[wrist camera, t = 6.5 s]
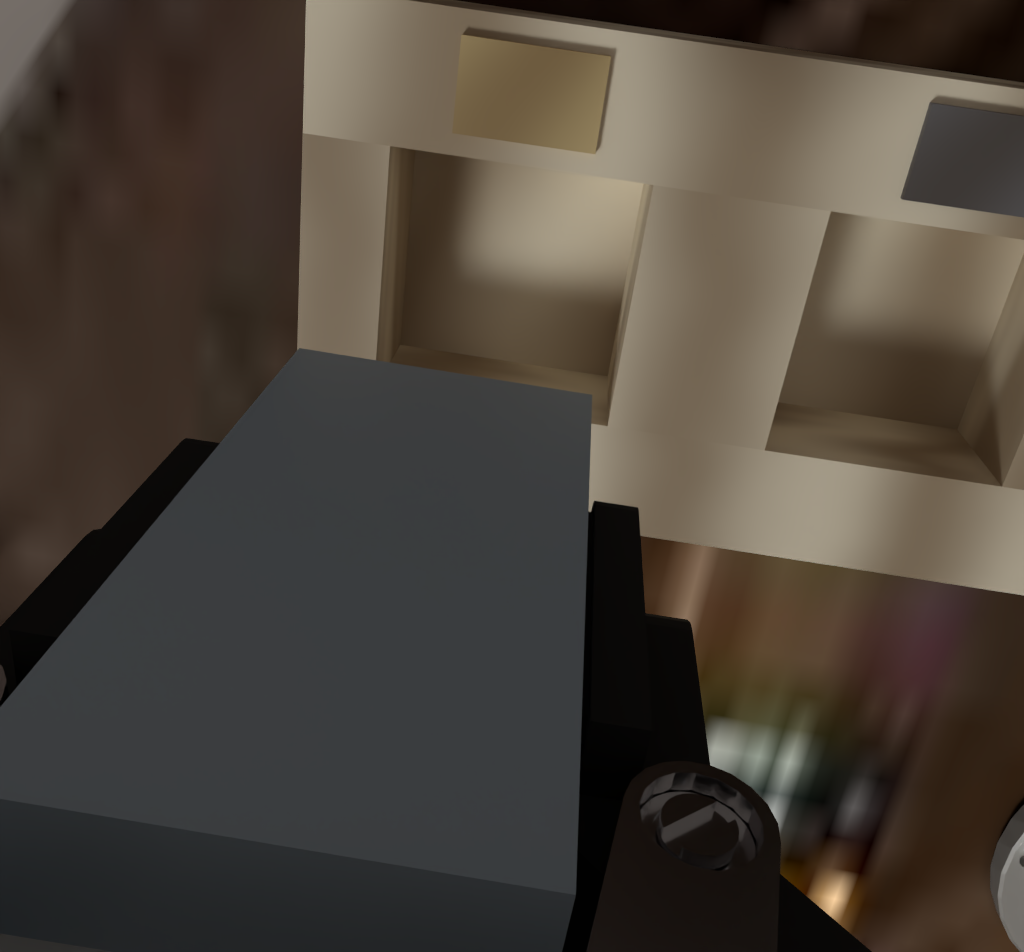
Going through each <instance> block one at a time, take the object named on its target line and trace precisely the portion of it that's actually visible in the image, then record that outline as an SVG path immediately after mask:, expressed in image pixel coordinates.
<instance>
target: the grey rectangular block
mask: <svg viewBox="0 0 1024 952" xmlns="http://www.w3.org/2000/svg"><path fill="white" fill-rule="evenodd" d="M591 418H592V395H591V394H584V393H578V392H572V391H565V390H559V389H553V388H547V387H540V386H534V385H528V384H522V383H515V382H509V381H503V380H496V379H490V378H484V377H478V376H471V375H465V374H459V373H453V372H446V371H440V370H434V369H427V368H421V367H415V366H409V365H402V364H396V363H390V362H384V361H377V360H371V359H365V358H359V357H352V356H346V355H340V354H333V353H327V352H321V351H315V350H308V349H302V348H299V349H298V350H297V351H296V353H295V354H294V355H293V356H292V357H291V359H290V360H289V361H288V362H287V363H286V365H285V366H284V367H283V368H282V369H281V371H280V372H279V373H278V374H277V375H276V377H275V378H274V379H273V380H272V381H271V383H270V384H269V385H268V386H267V387H266V389H265V390H264V391H263V392H262V393H261V395H260V396H259V397H258V398H257V399H256V401H255V402H254V403H253V404H252V405H251V407H250V408H249V409H248V410H247V411H246V413H245V414H244V415H243V416H242V417H241V419H240V420H239V421H238V422H237V423H236V425H235V426H234V427H233V428H232V430H231V431H230V432H229V433H228V434H227V436H226V437H225V438H224V439H223V440H222V442H221V443H220V444H219V445H218V446H217V448H216V449H215V450H214V451H213V452H212V454H211V455H210V456H209V457H208V458H207V460H206V461H205V462H204V463H203V464H202V466H201V467H200V468H199V469H198V470H197V472H196V473H195V474H194V475H193V476H192V478H191V479H190V480H189V481H188V482H187V484H186V485H185V486H184V487H183V488H182V490H181V491H180V492H179V493H178V494H177V496H176V497H175V498H174V499H173V500H172V502H171V503H170V504H169V505H168V506H167V508H166V509H165V510H164V511H163V512H162V514H161V515H160V516H159V517H158V518H157V520H156V521H155V522H154V523H153V524H152V526H151V527H150V528H149V529H148V530H147V532H146V533H145V534H144V535H143V536H142V538H141V539H140V540H139V541H138V542H137V544H136V545H135V546H134V547H133V548H132V550H131V551H130V552H129V553H128V554H127V556H126V557H125V558H124V559H123V560H122V562H121V563H120V564H119V565H118V566H117V568H116V569H115V570H114V571H113V572H112V574H111V575H110V576H109V577H108V578H107V580H106V581H105V582H104V583H103V584H102V586H101V587H100V588H99V589H98V590H97V592H96V593H95V594H94V595H93V596H92V598H91V599H90V600H89V601H88V602H87V604H86V605H85V606H84V607H83V608H82V610H81V611H80V612H79V613H78V614H77V616H76V617H75V618H74V619H73V620H72V622H71V623H70V624H69V625H68V626H67V628H66V629H65V630H64V631H63V632H62V634H61V635H60V636H59V637H58V638H57V640H56V641H55V642H54V643H53V644H52V646H51V647H50V648H49V649H48V650H47V652H46V653H45V654H44V655H43V656H42V658H41V659H40V660H39V661H38V662H37V664H36V665H35V666H34V667H33V668H32V670H31V671H30V672H29V673H28V674H27V676H26V677H25V678H24V679H23V680H22V682H21V683H20V684H19V685H18V686H17V688H16V689H15V690H14V691H13V692H12V694H11V695H10V696H9V697H8V698H7V700H6V701H5V702H4V703H3V704H2V706H1V707H0V934H6V935H12V936H19V937H25V938H31V939H37V940H43V941H49V942H56V943H62V944H68V945H74V946H80V947H86V948H93V949H99V950H105V951H111V952H562V950H563V946H564V942H565V938H566V933H567V929H568V925H569V921H570V917H571V913H572V909H573V905H574V901H575V897H576V877H577V846H578V815H579V785H580V754H581V724H582V693H583V663H584V632H585V602H586V571H587V540H588V510H589V479H590V449H591Z"/></svg>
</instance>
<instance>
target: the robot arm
mask: <svg viewBox="0 0 1024 952" xmlns="http://www.w3.org/2000/svg"><path fill="white" fill-rule="evenodd" d="M219 444H220V443H215V442H208V441H202V440H195V439H188V438H186V439H184V440H183V441H181V442H180V444H179V445H178V446H177V447H176V448H175V449H174V450H173V451H172V452H171V453H170V454H169V456H168V457H167V458H166V459H165V460H164V461H163V462H162V463H161V464H160V465H159V466H158V468H157V469H156V470H155V471H154V472H153V473H152V474H151V475H150V476H149V477H148V478H147V480H146V481H145V482H144V483H143V484H142V485H141V486H140V487H139V488H138V489H137V490H136V492H135V493H134V494H133V495H132V496H131V497H130V498H129V499H128V500H127V501H126V502H125V504H124V505H123V506H122V507H121V508H120V509H119V510H118V511H117V512H116V513H115V514H114V516H113V517H112V518H111V519H110V520H109V521H108V522H107V523H106V524H105V525H104V526H103V528H102V529H97V530H93V531H91V532H90V533H89V534H87V535H86V536H85V537H84V538H83V539H82V540H81V541H80V542H79V543H78V544H77V545H76V547H75V548H74V549H73V550H72V551H71V552H70V553H69V554H68V555H67V556H66V557H65V558H64V559H63V560H62V562H61V563H60V564H59V565H58V566H57V567H56V568H55V569H54V570H53V571H52V572H51V573H50V574H49V575H48V577H47V578H46V579H45V580H44V581H43V582H42V583H41V584H40V585H39V586H38V587H37V588H36V589H35V590H34V592H33V593H32V594H31V595H30V596H29V597H28V598H27V599H26V600H25V601H24V602H23V603H22V604H21V605H20V607H19V608H18V609H17V610H16V611H15V612H14V613H13V614H12V615H11V616H10V617H9V618H8V619H7V620H6V622H5V623H4V624H3V625H2V626H1V627H0V707H1V706H2V704H3V703H4V702H5V701H6V700H7V698H8V697H9V696H10V695H11V694H12V692H13V691H14V690H15V689H16V688H17V686H18V685H19V684H20V683H21V682H22V680H23V679H24V678H25V677H26V676H27V674H28V673H29V672H30V671H31V670H32V668H33V667H34V666H35V665H36V664H37V662H38V661H39V660H40V659H41V658H42V656H43V655H44V654H45V653H46V652H47V650H48V649H49V648H50V647H51V646H52V644H53V643H54V642H55V641H56V640H57V638H58V637H59V636H60V635H61V634H62V632H63V631H64V630H65V629H66V628H67V626H68V625H69V624H70V623H71V622H72V620H73V619H74V618H75V617H76V616H77V614H78V613H79V612H80V611H81V610H82V608H83V607H84V606H85V605H86V604H87V602H88V601H89V600H90V599H91V598H92V596H93V595H94V594H95V593H96V592H97V590H98V589H99V588H100V587H101V586H102V584H103V583H104V582H105V581H106V580H107V578H108V577H109V576H110V575H111V574H112V572H113V571H114V570H115V569H116V568H117V566H118V565H119V564H120V563H121V562H122V560H123V559H124V558H125V557H126V556H127V554H128V553H129V552H130V551H131V550H132V548H133V547H134V546H135V545H136V544H137V542H138V541H139V540H140V539H141V538H142V536H143V535H144V534H145V533H146V532H147V530H148V529H149V528H150V527H151V526H152V524H153V523H154V522H155V521H156V520H157V518H158V517H159V516H160V515H161V514H162V512H163V511H164V510H165V509H166V508H167V506H168V505H169V504H170V503H171V502H172V500H173V499H174V498H175V497H176V496H177V494H178V493H179V492H180V491H181V490H182V488H183V487H184V486H185V485H186V484H187V482H188V481H189V480H190V479H191V478H192V476H193V475H194V474H195V473H196V472H197V470H198V469H199V468H200V467H201V466H202V464H203V463H204V462H205V461H206V460H207V458H208V457H209V456H210V455H211V454H212V452H213V451H214V450H215V449H216V448H217V446H218V445H219ZM780 856H781V840H780V834H779V828H778V823H777V821H776V819H775V817H774V815H773V814H772V812H771V810H770V808H769V806H768V804H767V803H766V802H765V801H764V800H763V799H762V798H761V797H760V796H759V795H758V794H757V793H756V792H755V791H754V790H753V789H752V788H751V787H750V786H748V785H747V784H745V783H744V782H742V781H741V780H739V779H738V778H736V777H735V776H733V775H732V774H730V773H727V772H725V771H722V770H720V769H718V768H715V767H713V766H710V761H709V754H708V746H707V739H706V731H705V723H704V716H703V708H702V701H701V693H700V686H699V678H698V671H697V663H696V655H695V648H694V640H693V633H692V628H691V623H690V622H689V621H688V620H685V619H678V618H672V617H666V616H659V615H653V614H646V613H645V602H644V586H643V570H642V554H641V538H640V521H639V509H638V507H633V506H626V505H620V504H613V503H606V502H600V501H594V502H593V506H592V510H591V512H589V511H588V540H587V571H586V602H585V632H584V663H583V693H582V724H581V754H580V785H579V815H578V846H577V877H576V897H575V901H574V905H573V909H572V913H571V917H570V921H569V925H568V929H567V933H566V938H565V942H564V946H563V950H562V952H871V951H870V950H869V949H868V948H867V947H865V946H864V945H863V944H862V943H861V942H859V941H858V940H857V939H856V938H855V937H854V936H852V935H851V934H850V933H849V932H848V931H847V930H845V929H844V928H843V927H842V926H841V925H839V924H838V923H837V922H836V921H835V920H834V919H832V918H831V917H830V916H829V915H828V914H827V913H825V912H824V911H823V910H822V909H821V908H819V907H818V906H817V905H816V904H815V903H814V902H812V901H811V900H810V899H809V898H808V897H807V896H805V895H804V894H803V893H802V892H801V891H799V890H798V889H797V888H796V887H795V886H794V885H792V884H791V883H790V882H789V881H788V880H787V879H785V878H784V877H783V876H782V875H781V874H780ZM990 890H991V893H992V897H993V900H994V904H995V907H996V910H997V913H998V915H999V917H1000V919H1001V921H1002V923H1003V926H1004V928H1005V930H1006V932H1007V934H1008V937H1009V939H1010V940H1011V941H1012V943H1013V944H1014V945H1015V946H1016V947H1017V949H1018V950H1019V951H1020V952H1024V805H1023V806H1022V807H1021V808H1020V810H1019V811H1018V812H1017V813H1016V814H1015V815H1014V816H1013V817H1012V818H1011V820H1010V822H1009V824H1008V825H1007V827H1006V829H1005V830H1004V832H1003V834H1002V836H1001V837H1000V839H999V841H998V843H997V846H996V849H995V853H994V856H993V860H992V863H991V876H990ZM0 952H111V951H105V950H99V949H93V948H86V947H80V946H74V945H68V944H62V943H56V942H49V941H43V940H37V939H31V938H25V937H19V936H12V935H6V934H0Z"/></svg>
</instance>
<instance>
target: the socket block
mask: <svg viewBox="0 0 1024 952" xmlns="http://www.w3.org/2000/svg"><path fill="white" fill-rule="evenodd" d="M299 348H302V349H308V350H315V351H321V352H327V353H333V354H340V355H346V356H352V357H359V358H365V359H371V360H377V361H384V362H390V363H396V364H402V365H409V366H415V367H421V368H427V369H434V370H440V371H446V372H453V373H459V374H465V375H471V376H478V377H484V378H490V379H496V380H503V381H509V382H515V383H522V384H528V385H534V386H540V387H547V388H553V389H559V390H565V391H572V392H578V393H584V394H591V395H592V418H591V449H590V479H589V510H588V511H589V512H591V510H592V506H593V502H594V501H600V502H606V503H613V504H620V505H626V506H633V507H638V509H639V521H640V536H646V537H653V538H659V539H665V540H672V541H678V542H685V543H691V544H698V545H704V546H710V547H717V548H723V549H730V550H736V551H743V552H749V553H755V554H762V555H768V556H775V557H781V558H788V559H794V560H800V561H807V562H813V563H820V564H826V565H833V566H839V567H845V568H852V569H858V570H865V571H871V572H877V573H884V574H890V575H897V576H903V577H910V578H916V579H922V580H929V581H935V582H942V583H948V584H955V585H961V586H967V587H974V588H980V589H987V590H993V591H1000V592H1006V593H1012V594H1019V595H1024V82H1017V81H1010V80H1003V79H996V78H990V77H983V76H976V75H969V74H962V73H955V72H948V71H941V70H934V69H927V68H920V67H914V66H907V65H900V64H893V63H886V62H879V61H872V60H865V59H858V58H851V57H844V56H838V55H831V54H824V53H817V52H810V51H803V50H796V49H789V48H782V47H775V46H768V45H761V44H755V43H748V42H741V41H734V40H727V39H720V38H713V37H706V36H699V35H692V34H685V33H679V32H672V31H665V30H658V29H651V28H644V27H637V26H630V25H623V24H616V23H609V22H603V21H596V20H589V19H582V18H575V17H568V16H561V15H554V14H547V13H540V12H533V11H527V10H520V9H513V8H506V7H499V6H492V5H485V4H478V3H471V2H464V1H457V0H306V29H305V68H304V108H303V147H302V187H301V226H300V266H299V305H298V345H297V350H298V349H299Z"/></svg>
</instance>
